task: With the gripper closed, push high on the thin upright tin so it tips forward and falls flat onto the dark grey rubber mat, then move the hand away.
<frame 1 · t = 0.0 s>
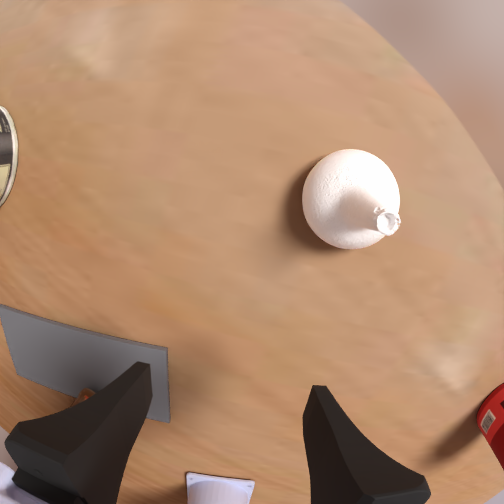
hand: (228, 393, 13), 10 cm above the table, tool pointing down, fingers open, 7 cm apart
canned food: (497, 401, 26), on the table
mat: (76, 364, 25), on the table
garlic bulb: (345, 196, 20), on the table
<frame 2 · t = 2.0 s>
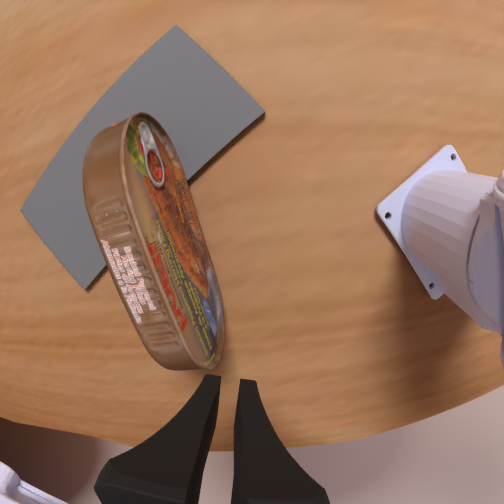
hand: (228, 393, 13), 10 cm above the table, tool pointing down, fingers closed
mat: (119, 161, 20), on the table
tin: (178, 228, 21), on the table, touching mat
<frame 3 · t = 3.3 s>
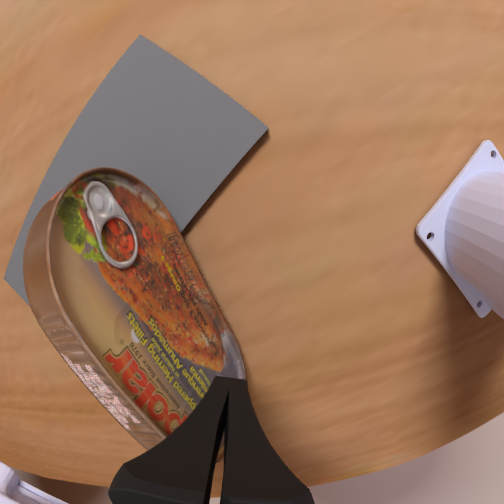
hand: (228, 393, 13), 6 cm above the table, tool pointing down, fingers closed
mat: (100, 214, 17), on the table
tin: (183, 286, 17), on the table, touching mat
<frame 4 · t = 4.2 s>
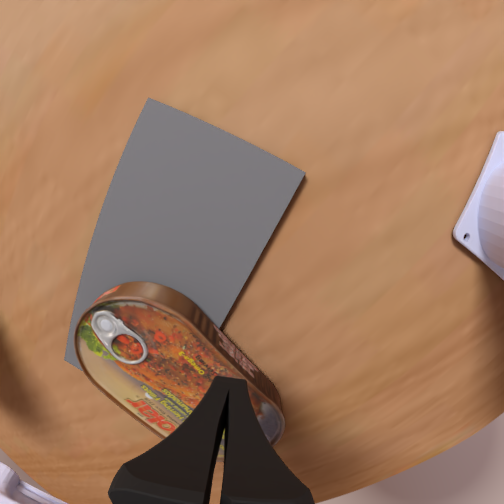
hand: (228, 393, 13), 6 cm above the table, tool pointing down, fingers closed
mat: (154, 285, 18), on the table
tin: (241, 353, 17), point 1 cm above the table, touching mat
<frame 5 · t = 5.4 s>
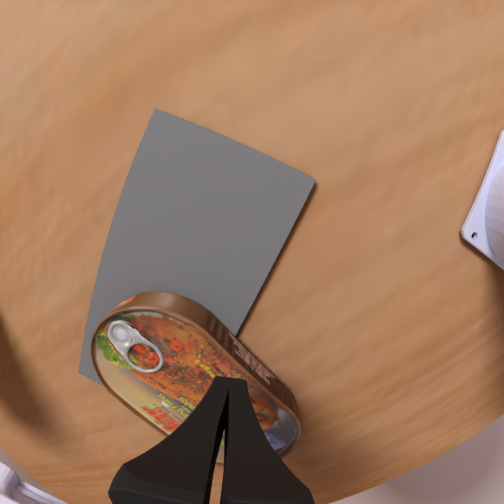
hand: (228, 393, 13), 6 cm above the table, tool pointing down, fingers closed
mat: (168, 296, 18), on the table
tin: (257, 360, 17), point 1 cm above the table, touching mat
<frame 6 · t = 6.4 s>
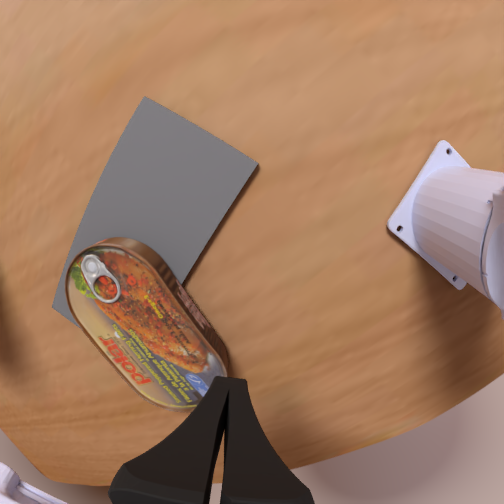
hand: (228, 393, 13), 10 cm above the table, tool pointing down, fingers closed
mat: (133, 244, 22), on the table
tin: (195, 306, 21), point 2 cm above the table, touching mat
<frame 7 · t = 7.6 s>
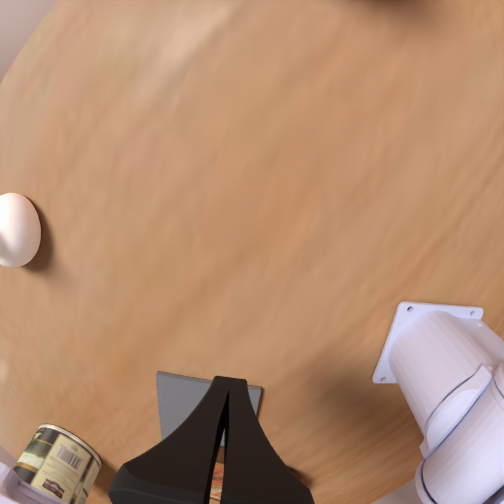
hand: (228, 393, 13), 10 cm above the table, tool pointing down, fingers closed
mat: (205, 443, 28), on the table
garlic bulb: (22, 225, 22), on the table
coffee can: (70, 448, 31), on the table
tin: (262, 465, 27), point 2 cm above the table, touching mat
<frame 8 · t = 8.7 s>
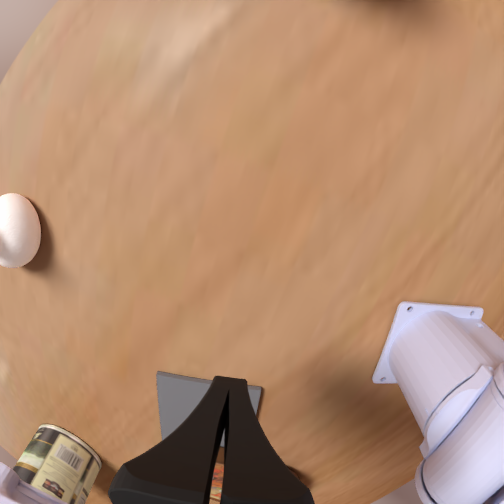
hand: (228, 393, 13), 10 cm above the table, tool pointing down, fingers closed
mat: (205, 443, 28), on the table
garlic bulb: (22, 226, 22), on the table
coffee can: (70, 448, 31), on the table
tin: (262, 464, 27), point 2 cm above the table, touching mat
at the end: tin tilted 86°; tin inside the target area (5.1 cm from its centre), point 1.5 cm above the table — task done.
